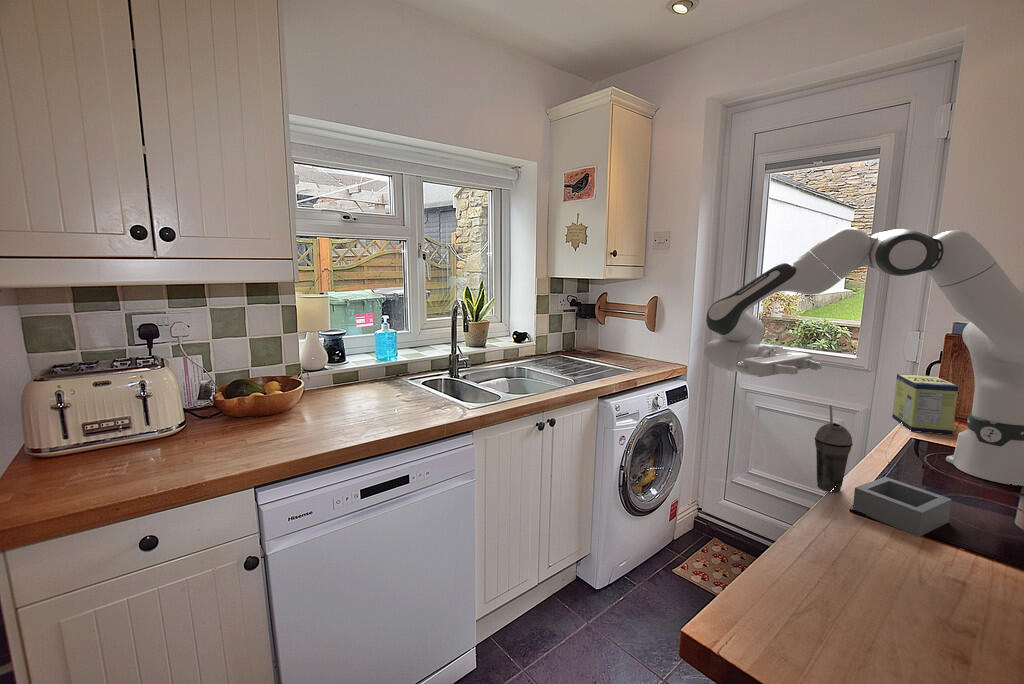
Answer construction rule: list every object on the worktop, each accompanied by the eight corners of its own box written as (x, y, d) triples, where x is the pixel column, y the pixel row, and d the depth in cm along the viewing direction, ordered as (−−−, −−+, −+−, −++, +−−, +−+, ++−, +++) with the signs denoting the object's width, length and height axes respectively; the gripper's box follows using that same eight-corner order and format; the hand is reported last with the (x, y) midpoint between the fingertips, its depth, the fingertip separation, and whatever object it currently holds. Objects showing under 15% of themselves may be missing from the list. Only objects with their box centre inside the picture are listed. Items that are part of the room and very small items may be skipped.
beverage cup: (854, 496, 103) (863, 411, 100) (818, 494, 105) (826, 409, 102) (838, 482, 110) (846, 401, 107) (805, 480, 112) (812, 400, 109)
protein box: (929, 420, 154) (934, 375, 152) (953, 435, 140) (960, 386, 138) (890, 417, 158) (895, 373, 156) (910, 431, 144) (916, 383, 141)
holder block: (882, 497, 102) (884, 476, 102) (948, 522, 92) (951, 499, 91) (852, 509, 98) (854, 487, 97) (918, 537, 87) (921, 512, 87)
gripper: (731, 353, 122) (781, 360, 109) (781, 345, 130) (833, 352, 118) (730, 376, 123) (780, 386, 110) (780, 367, 131) (831, 376, 119)
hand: (808, 368), depth 114 cm, fingers open, 8 cm apart
